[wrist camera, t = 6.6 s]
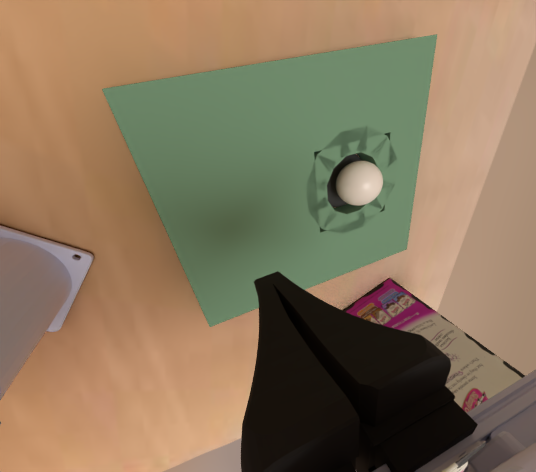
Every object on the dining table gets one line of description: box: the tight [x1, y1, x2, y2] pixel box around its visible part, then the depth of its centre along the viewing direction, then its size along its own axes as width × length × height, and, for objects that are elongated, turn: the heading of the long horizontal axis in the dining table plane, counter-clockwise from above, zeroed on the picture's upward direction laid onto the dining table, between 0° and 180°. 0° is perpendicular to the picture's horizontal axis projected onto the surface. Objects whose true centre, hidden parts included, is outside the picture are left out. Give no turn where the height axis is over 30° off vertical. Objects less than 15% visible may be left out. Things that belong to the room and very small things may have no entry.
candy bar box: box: [344, 279, 525, 472], centre depth 26 cm, size 11×5×16 cm, turn 119°
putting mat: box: [102, 35, 437, 327], centre depth 21 cm, size 24×20×2 cm
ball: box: [336, 161, 383, 206], centre depth 21 cm, size 4×4×4 cm
